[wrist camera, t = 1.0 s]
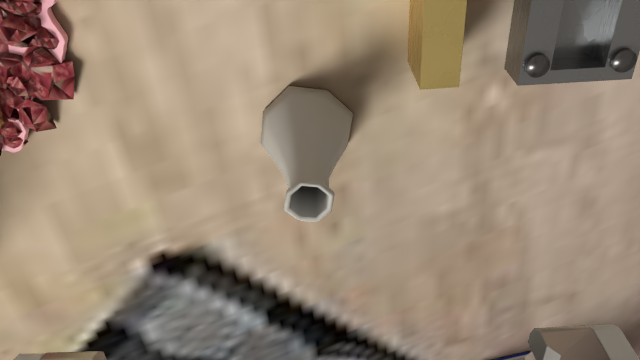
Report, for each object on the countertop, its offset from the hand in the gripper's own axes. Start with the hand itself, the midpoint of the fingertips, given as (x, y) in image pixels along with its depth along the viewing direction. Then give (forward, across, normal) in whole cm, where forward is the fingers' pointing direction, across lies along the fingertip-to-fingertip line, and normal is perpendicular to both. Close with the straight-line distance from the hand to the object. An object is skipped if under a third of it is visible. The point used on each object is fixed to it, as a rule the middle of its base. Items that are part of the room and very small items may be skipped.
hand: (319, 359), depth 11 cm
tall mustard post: (+32, -8, +1) cm, 33 cm away
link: (+32, -18, +3) cm, 37 cm away
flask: (+32, 0, +12) cm, 34 cm away
